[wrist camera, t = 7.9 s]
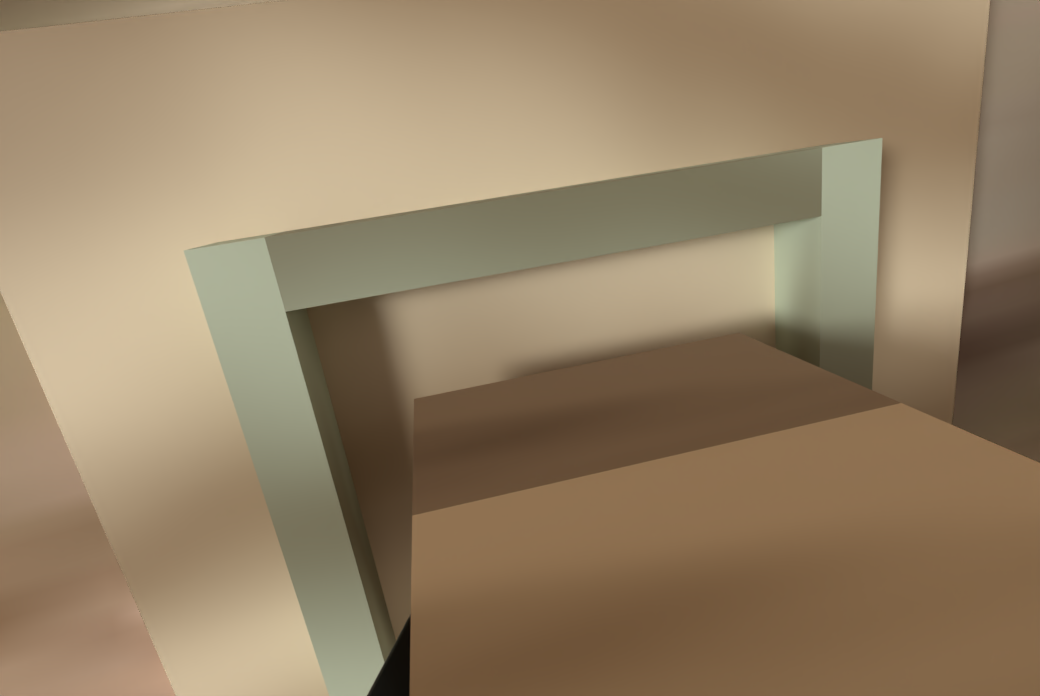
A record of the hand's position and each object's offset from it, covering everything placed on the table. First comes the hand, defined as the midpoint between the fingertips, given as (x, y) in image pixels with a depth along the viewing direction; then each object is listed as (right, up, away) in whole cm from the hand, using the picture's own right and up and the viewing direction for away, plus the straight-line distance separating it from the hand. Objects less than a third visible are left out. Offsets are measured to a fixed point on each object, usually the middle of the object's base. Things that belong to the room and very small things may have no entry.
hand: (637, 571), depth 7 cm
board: (-1, +1, +4) cm, 4 cm away
